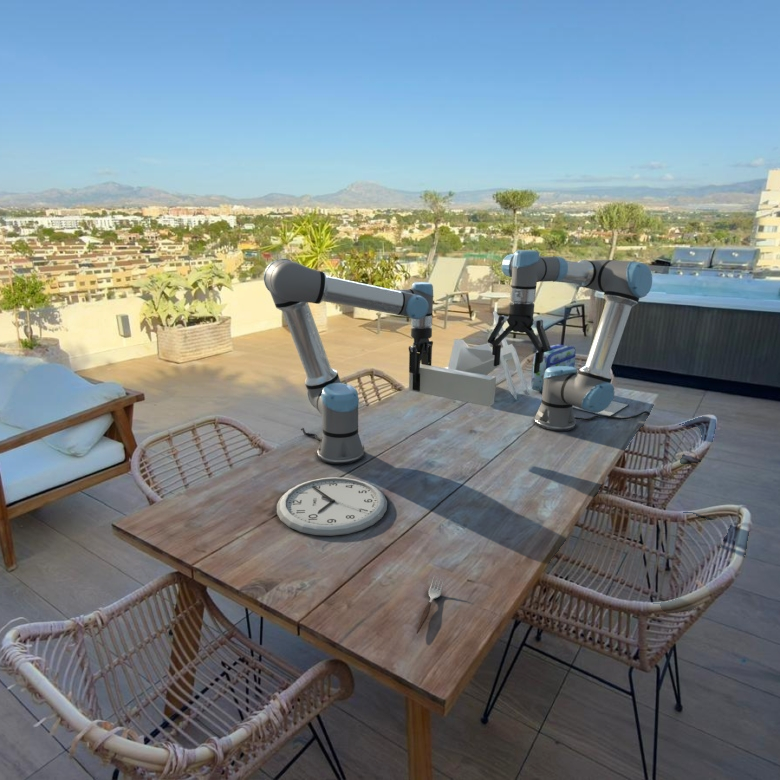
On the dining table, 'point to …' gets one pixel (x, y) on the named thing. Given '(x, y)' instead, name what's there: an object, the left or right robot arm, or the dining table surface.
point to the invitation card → (610, 408)
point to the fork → (433, 594)
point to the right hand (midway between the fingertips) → (515, 368)
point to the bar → (456, 385)
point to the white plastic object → (486, 360)
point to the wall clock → (331, 506)
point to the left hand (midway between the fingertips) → (419, 388)
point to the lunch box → (552, 363)
